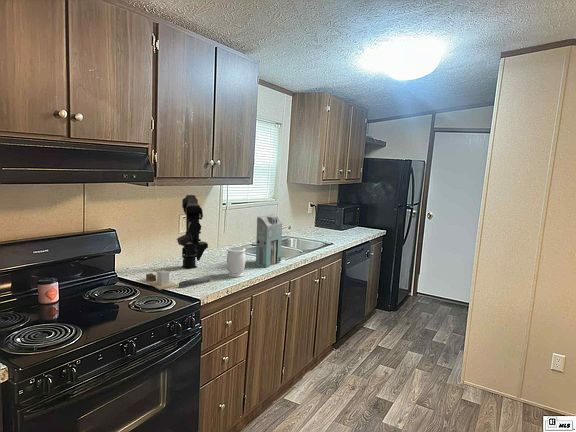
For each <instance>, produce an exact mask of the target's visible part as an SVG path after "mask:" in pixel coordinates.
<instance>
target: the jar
mask: <svg viewBox="0 0 576 432" xmlns="http://www.w3.org/2000/svg"><path fill="white" fill-rule="evenodd" d="M246 251H247V249H246V248H244V247H239V246H232V247H228V248H226V252H227V255H226V264H227V265H226V266H227V270H228V273H227V275H228V276H229V277H231V276H232V278H240V277H239V276H241V277H243V276H244V270H245V268H246V267H245V266H246V258H247V257H246Z"/></svg>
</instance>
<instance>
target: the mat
mask: <svg viewBox="0 0 576 432" xmlns="http://www.w3.org/2000/svg"><path fill="white" fill-rule="evenodd" d="M147 284H149V285H150V286H152V287H154V288H155V289H156V290H159V291H161V290H165V289H170V288H174V287H179V283H178V284H177V283H175V282H173V281H172V280H170V279H169V284H167V285H160V284H158V283H157V280H156V281H153V282H149V281H148V283H147Z"/></svg>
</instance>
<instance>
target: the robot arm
mask: <svg viewBox="0 0 576 432" xmlns="http://www.w3.org/2000/svg"><path fill="white" fill-rule="evenodd" d="M181 201H182V202H181V204H182V205H181V208H182V209H183V213H184V214H185V221H186V222H185V230H186V231H185V234H183V235H181V236H179V237H177V238H176V242H177V244H178V245H180V246H182V248H181V258H182V259H183V260H182V266H181V267H182V268H185V269H186V270H189V269H195V268H198V266H197V265H196V262H200V260H201V257H202V256H203V254H204V252H205V250H207V249H208V248H209V243H208V242H206V241H202V239H201V238H200V235H201V234H202V232H201V229H202V226H201V225H202V224H201V223H200V220H203V217H204V213H203V209H202V208H203V207H201V205H200V204H199V200H198V198H196V195H195V194H194V195H193V194H187V195H185V197H184V198H182V200H181Z"/></svg>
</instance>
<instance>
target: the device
mask: <svg viewBox="0 0 576 432" xmlns="http://www.w3.org/2000/svg"><path fill="white" fill-rule="evenodd" d="M282 234H283V222H282V220H281V219H280V217H279V216H278V215H276V214H273V213H272V214H266V215H261V216H257V217H256V242H255V243H256V244H255V245H256V249H255V251H256V252H255V266H256V267H260V268H265V269H266V268H269V267H271V266H274V265H277V264H278V263H281V262H282V240H283V239H282V236H283V235H282Z"/></svg>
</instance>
